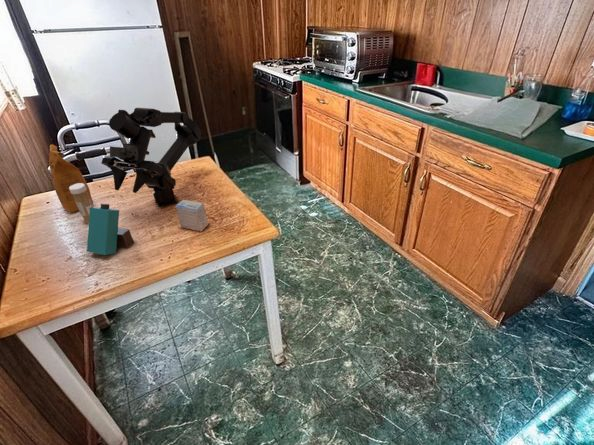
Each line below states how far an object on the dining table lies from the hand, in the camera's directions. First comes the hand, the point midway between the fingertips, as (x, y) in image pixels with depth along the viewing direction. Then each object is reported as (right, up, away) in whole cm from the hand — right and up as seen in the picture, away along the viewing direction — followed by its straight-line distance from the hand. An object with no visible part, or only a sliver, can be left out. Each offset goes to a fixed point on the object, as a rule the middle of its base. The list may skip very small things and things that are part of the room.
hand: (125, 191), depth 103 cm
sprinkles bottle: (-17, -9, +11) cm, 22 cm away
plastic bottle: (-3, -18, -3) cm, 18 cm away
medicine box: (+20, -11, +6) cm, 24 cm away
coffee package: (-28, -3, +20) cm, 34 cm away
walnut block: (-2, -16, 0) cm, 16 cm away
